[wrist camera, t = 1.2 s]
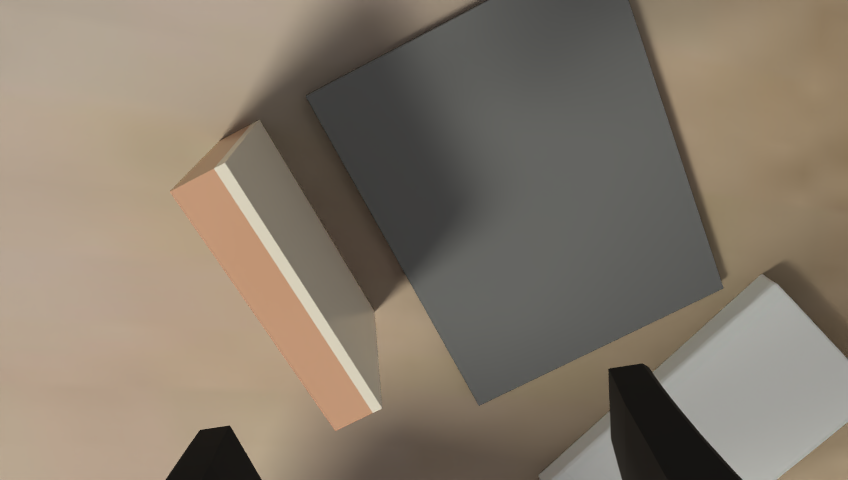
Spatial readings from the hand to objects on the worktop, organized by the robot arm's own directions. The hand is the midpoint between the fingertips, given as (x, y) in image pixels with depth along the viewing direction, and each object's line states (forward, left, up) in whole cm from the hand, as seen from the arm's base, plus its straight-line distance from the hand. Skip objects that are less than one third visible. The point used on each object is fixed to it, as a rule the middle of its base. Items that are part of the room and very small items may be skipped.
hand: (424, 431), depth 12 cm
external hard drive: (+8, -14, -12) cm, 20 cm away
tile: (-3, +2, -11) cm, 11 cm away
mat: (+5, -1, -11) cm, 12 cm away
